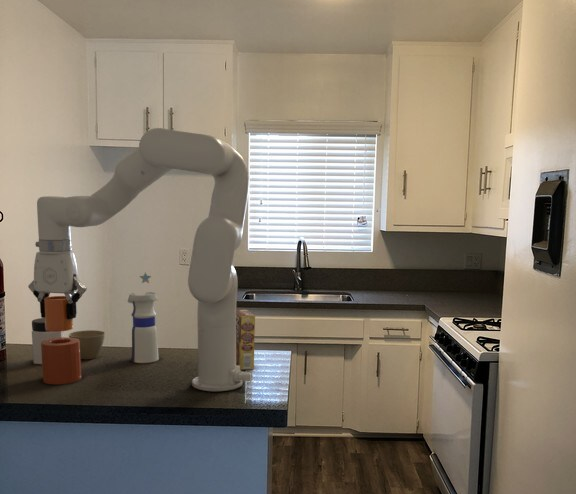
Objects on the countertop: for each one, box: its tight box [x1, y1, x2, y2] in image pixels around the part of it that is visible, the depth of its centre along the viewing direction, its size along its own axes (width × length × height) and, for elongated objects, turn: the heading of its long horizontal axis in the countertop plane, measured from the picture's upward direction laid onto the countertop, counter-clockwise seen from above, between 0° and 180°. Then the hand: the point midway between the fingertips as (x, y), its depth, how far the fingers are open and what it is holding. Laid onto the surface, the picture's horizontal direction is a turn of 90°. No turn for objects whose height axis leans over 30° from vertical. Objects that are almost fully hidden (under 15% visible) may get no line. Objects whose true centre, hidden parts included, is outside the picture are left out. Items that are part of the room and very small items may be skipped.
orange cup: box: [44, 295, 74, 332], centre depth 158 cm, size 6×6×8 cm
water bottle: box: [127, 272, 160, 364], centre depth 179 cm, size 8×9×25 cm
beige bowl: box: [68, 330, 106, 360], centre depth 183 cm, size 10×10×7 cm
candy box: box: [236, 309, 256, 371], centre depth 174 cm, size 9×4×15 cm, turn 16°
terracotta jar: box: [41, 336, 82, 385], centre depth 160 cm, size 9×9×10 cm
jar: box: [31, 317, 65, 366], centre depth 177 cm, size 9×8×12 cm
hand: (58, 317), depth 158 cm, fingers closed on orange cup, 6 cm apart
